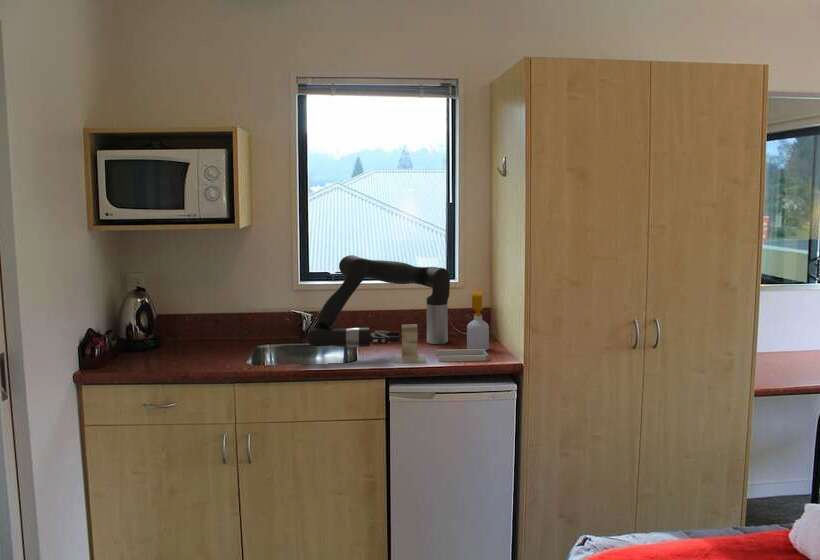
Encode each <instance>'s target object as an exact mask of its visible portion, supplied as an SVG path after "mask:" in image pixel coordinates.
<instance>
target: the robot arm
mask: <svg viewBox="0 0 820 560" xmlns="http://www.w3.org/2000/svg"><path fill="white" fill-rule="evenodd" d="M338 268H339V272H340V273H341V274H342V275H343V276H344V277H345V278H344V280H343V282H342V284H341V285H340V286H339V288H338V289H336V291H335V292H334V293H333V294H332V295H331V296H330V297H329V298H328V299H327V300H326V301H325V303H324V305H323V306H322V308H321V310H320V312H319V314H318V316H317V320H316V322H315V323H314V325H313V327H312V329H310V330H309V331H308V332H307V334H306V342H307V343H308V345H310V346H311V347H316V348H318V347H351V348H365V347H366V348H369V347H371V343H372V344H373V345H388V344H390V343H399V342H400V339H401V338H400V332H399V331H389V330H387V329H386V330H373V332H371V328H370V327H349V328H333V329H332V327H333V326H334V324H335V323H336V321H337V320H338V317H339V316H340V313H341V312H342V310H343V309H344V307H345V305H346V304H347V303H348V301H349V300H350V298H351V297H352V296H353V294H354V293H355V292H356V290H357V289H358V287H359V286H360V285H361V283H362V282H363V281H364V280H365V278H370V279H373V280H376V281H380V282H384V283H387V284H388V283H389V284H395V285H408V284H416V285H420V286H425V287H428V288H431V289H432V290H431V295H429V296H427V298H426V343H427V344H429V345H444V344H447V343H448V341H449V339H448V337H449V336H448V335H449V334H448V332H449V331H448V328H449V327H448V325H449V324H448V320H449V319H448V302H449V301H448V300H449V297H450V288H451V285H450V284H451V278H450V272H449V271H448V270H447V269H446V268H444V267H439V266H437V267H436V266H415V265H412V264H409V263H405V262H403V261H402V262H401V261H393V260H383V259H382V260H380V259H379V260H378V259H369V258H363V257H361V256H357V255H353V254H352V255H351V254H350V255H346V256H344V257H342V258H341V260H339V265H338Z"/></svg>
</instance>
